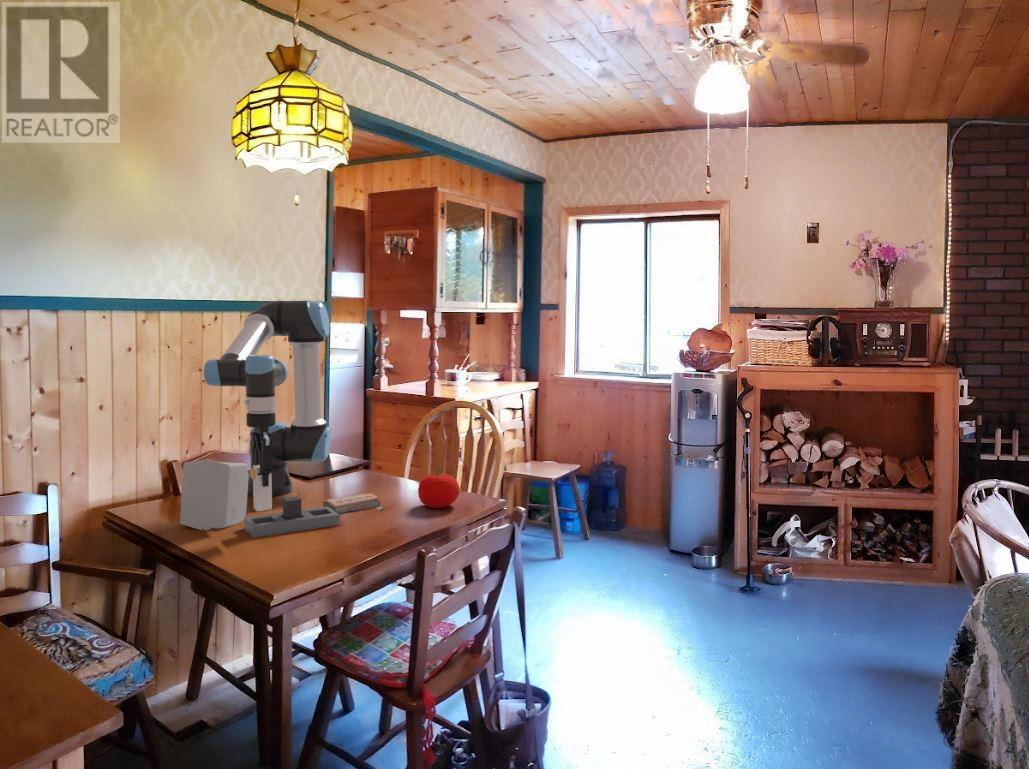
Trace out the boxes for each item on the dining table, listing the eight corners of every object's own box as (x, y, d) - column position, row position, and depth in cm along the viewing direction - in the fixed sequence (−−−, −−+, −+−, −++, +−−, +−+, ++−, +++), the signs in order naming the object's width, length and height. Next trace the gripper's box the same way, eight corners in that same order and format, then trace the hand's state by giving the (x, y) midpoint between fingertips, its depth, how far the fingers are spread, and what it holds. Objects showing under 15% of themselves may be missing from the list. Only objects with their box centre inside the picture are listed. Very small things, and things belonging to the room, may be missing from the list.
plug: (250, 508, 209) (249, 465, 207) (268, 506, 211) (267, 463, 210) (254, 511, 205) (253, 468, 204) (272, 509, 208) (271, 466, 207)
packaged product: (368, 490, 243) (384, 496, 235) (368, 504, 243) (384, 511, 236) (315, 498, 231) (330, 505, 224) (316, 514, 232) (330, 521, 224)
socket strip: (243, 531, 211) (243, 517, 211) (328, 519, 225) (328, 506, 224) (252, 541, 203) (252, 527, 202) (340, 528, 216) (340, 514, 215)
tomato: (423, 500, 247) (423, 467, 246) (462, 503, 245) (462, 469, 244) (413, 510, 236) (413, 475, 234) (454, 512, 234) (454, 477, 233)
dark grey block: (283, 525, 214) (282, 498, 213) (297, 523, 216) (296, 496, 215) (287, 529, 211) (286, 501, 210) (301, 527, 213) (301, 499, 212)
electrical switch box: (255, 525, 225) (258, 458, 226) (225, 532, 211) (229, 460, 211) (211, 521, 228) (215, 455, 229) (179, 528, 214) (183, 457, 215)
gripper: (239, 409, 211) (241, 491, 213) (254, 416, 197) (256, 504, 199) (266, 407, 215) (268, 488, 217) (283, 414, 201) (285, 500, 203)
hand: (262, 495), depth 208 cm, fingers closed on plug, 4 cm apart
